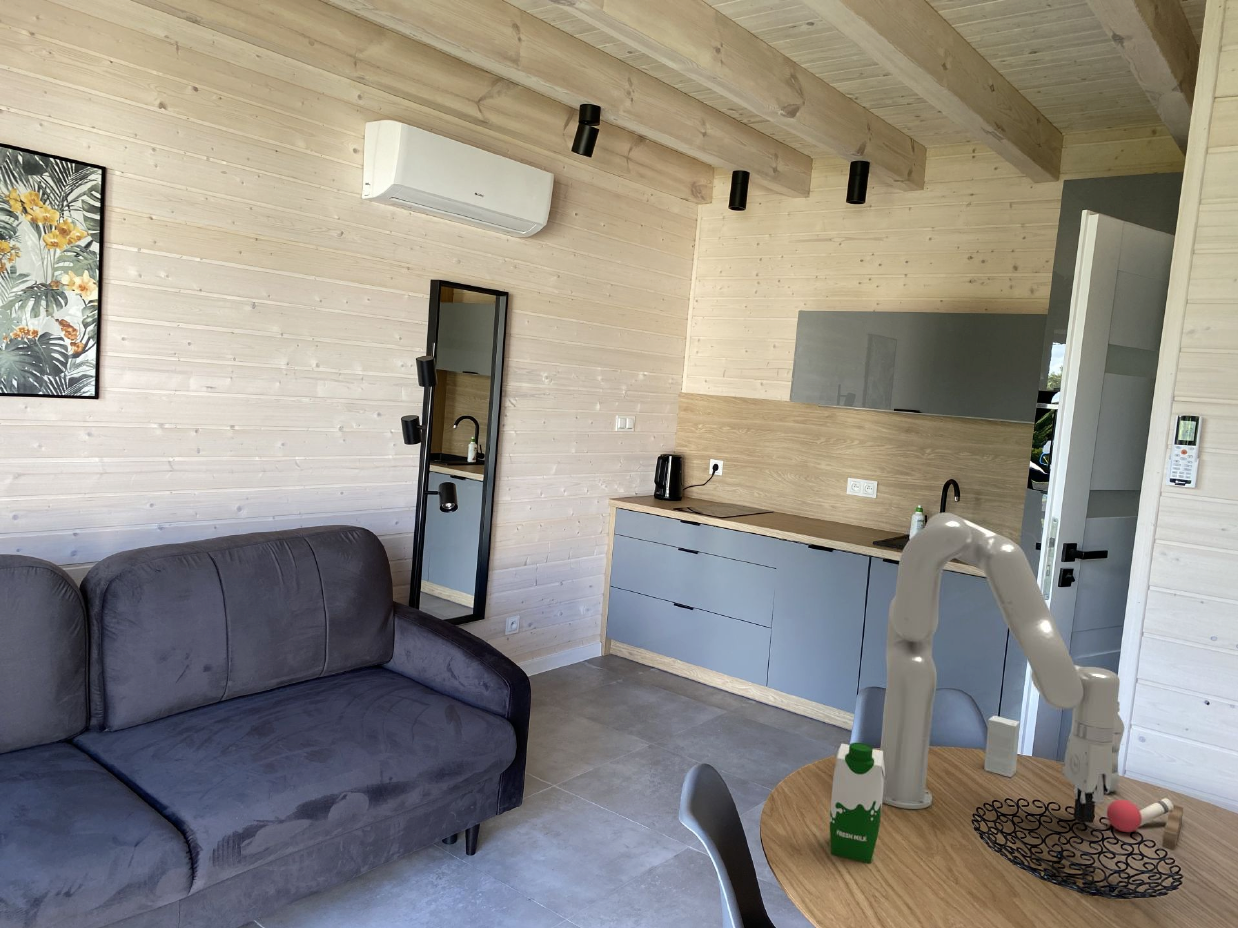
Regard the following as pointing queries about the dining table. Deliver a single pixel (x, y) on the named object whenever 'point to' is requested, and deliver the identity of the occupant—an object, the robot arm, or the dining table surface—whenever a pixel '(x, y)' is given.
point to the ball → (1124, 815)
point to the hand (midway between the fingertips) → (1083, 820)
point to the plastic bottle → (1116, 750)
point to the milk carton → (856, 801)
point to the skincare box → (1002, 746)
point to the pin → (1155, 810)
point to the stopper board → (1172, 827)
